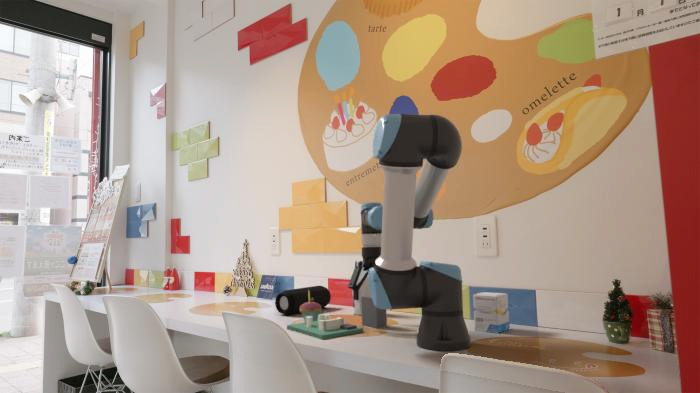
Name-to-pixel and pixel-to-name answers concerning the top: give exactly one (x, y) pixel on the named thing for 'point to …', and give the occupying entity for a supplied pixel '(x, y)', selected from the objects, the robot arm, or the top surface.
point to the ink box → (491, 311)
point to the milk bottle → (362, 294)
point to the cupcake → (310, 309)
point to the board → (325, 327)
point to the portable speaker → (301, 299)
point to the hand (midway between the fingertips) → (373, 307)
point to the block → (372, 314)
